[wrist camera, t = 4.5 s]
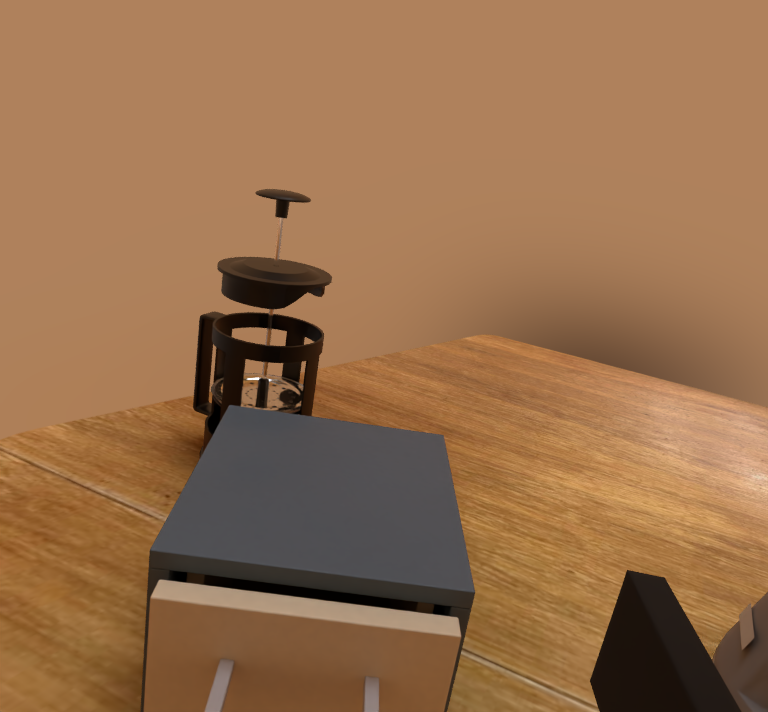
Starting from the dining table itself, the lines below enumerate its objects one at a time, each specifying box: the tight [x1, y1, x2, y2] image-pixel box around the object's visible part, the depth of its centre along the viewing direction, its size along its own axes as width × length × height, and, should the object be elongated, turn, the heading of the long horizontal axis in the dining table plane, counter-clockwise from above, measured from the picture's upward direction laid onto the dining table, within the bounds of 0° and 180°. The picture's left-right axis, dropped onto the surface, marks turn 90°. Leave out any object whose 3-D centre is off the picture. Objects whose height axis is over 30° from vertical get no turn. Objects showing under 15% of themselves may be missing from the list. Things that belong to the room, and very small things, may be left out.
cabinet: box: [141, 405, 475, 712], centre depth 38 cm, size 16×14×11 cm
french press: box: [193, 189, 332, 458], centre depth 56 cm, size 12×9×23 cm
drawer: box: [144, 572, 461, 712], centre depth 34 cm, size 19×13×9 cm, turn 2°
